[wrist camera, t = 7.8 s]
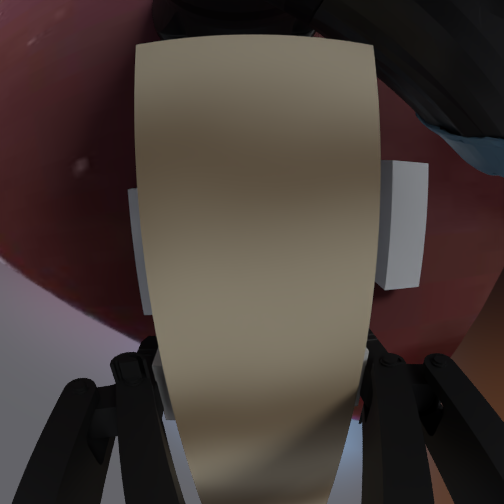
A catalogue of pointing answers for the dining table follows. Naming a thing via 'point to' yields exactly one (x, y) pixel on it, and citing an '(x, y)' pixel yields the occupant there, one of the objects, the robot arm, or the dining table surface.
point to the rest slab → (401, 223)
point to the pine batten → (259, 251)
